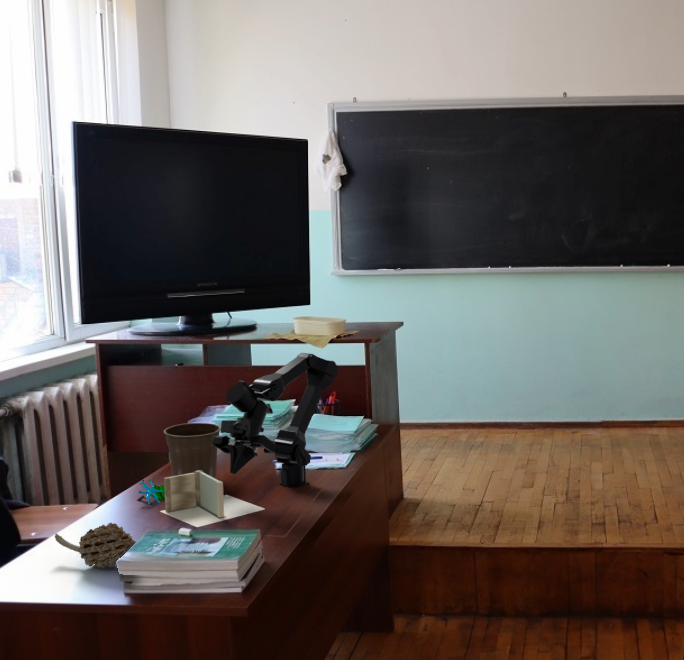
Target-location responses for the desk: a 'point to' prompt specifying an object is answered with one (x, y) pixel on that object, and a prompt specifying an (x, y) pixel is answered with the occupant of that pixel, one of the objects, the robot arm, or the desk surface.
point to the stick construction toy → (152, 492)
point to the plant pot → (192, 448)
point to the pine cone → (101, 545)
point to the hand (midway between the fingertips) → (232, 473)
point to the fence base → (182, 491)
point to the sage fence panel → (211, 494)
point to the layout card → (204, 517)
